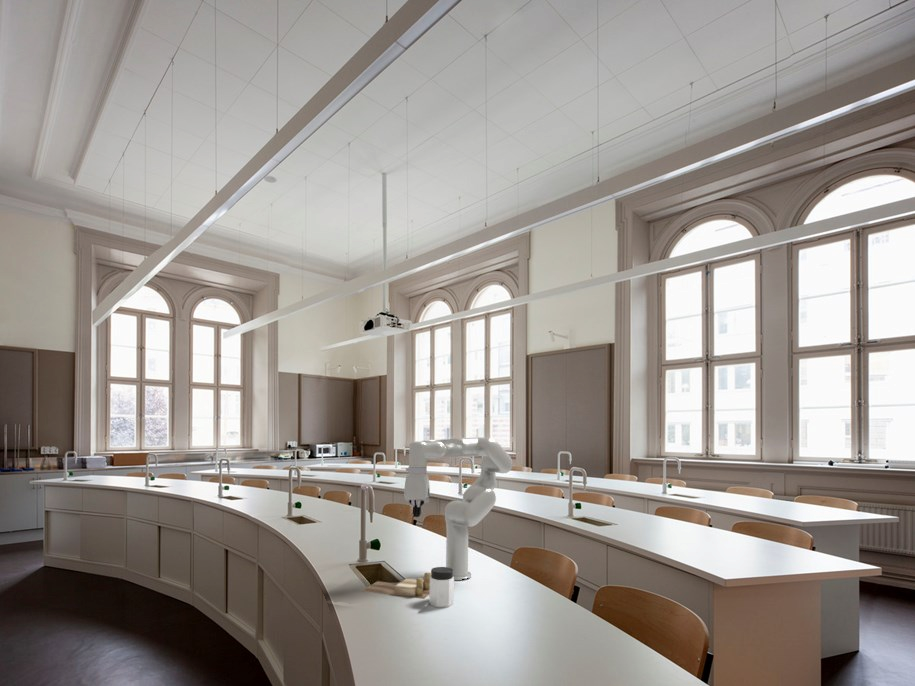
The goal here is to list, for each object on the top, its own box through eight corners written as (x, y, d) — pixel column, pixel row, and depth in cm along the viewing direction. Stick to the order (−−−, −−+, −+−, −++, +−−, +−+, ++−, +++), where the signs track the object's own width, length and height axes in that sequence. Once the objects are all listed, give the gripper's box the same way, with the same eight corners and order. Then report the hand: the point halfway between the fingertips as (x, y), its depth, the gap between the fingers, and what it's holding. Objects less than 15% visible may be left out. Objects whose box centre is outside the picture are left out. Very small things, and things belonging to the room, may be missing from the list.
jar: (430, 608, 197) (431, 572, 199) (428, 600, 205) (429, 567, 207) (455, 607, 198) (455, 572, 200) (452, 600, 206) (452, 566, 208)
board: (377, 583, 225) (378, 565, 226) (436, 590, 217) (437, 572, 218) (361, 593, 212) (361, 574, 213) (423, 601, 204) (424, 581, 205)
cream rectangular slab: (407, 585, 220) (407, 577, 220) (426, 587, 217) (426, 579, 218) (394, 594, 209) (395, 585, 209) (414, 596, 206) (414, 588, 207)
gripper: (397, 471, 229) (396, 516, 227) (431, 472, 225) (430, 519, 222) (404, 469, 236) (403, 514, 234) (437, 471, 232) (436, 516, 229)
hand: (416, 516), depth 228 cm, fingers closed
